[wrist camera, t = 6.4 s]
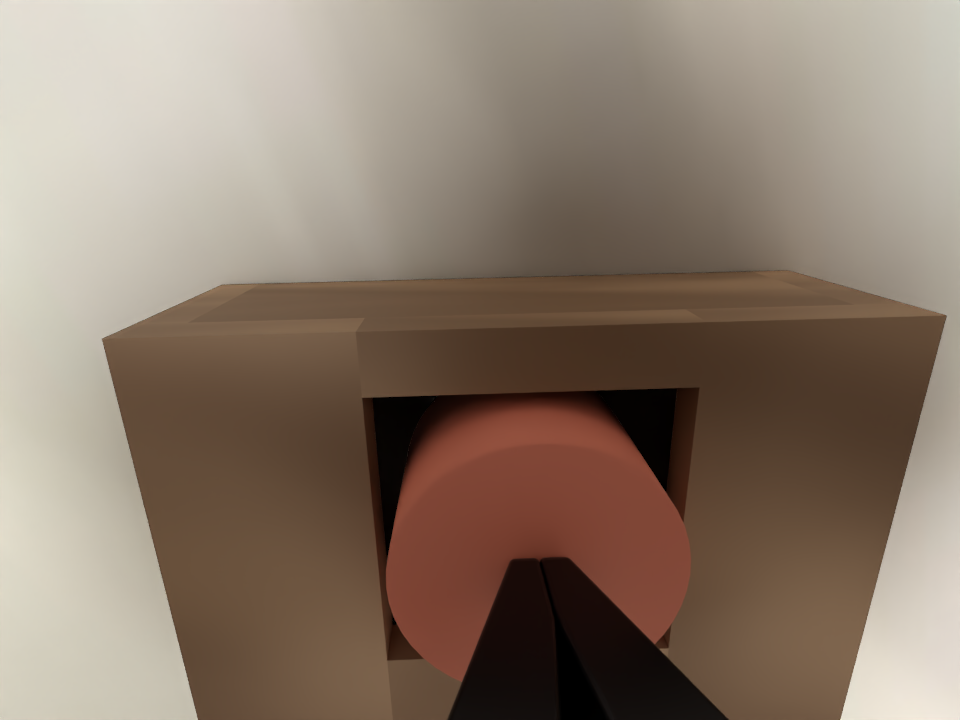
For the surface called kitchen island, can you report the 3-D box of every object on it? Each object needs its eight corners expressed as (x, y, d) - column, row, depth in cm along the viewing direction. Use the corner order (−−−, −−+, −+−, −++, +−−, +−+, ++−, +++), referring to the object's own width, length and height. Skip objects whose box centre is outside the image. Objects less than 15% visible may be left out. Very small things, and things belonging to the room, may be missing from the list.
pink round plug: (619, 555, 12) (676, 688, 9) (413, 562, 11) (396, 701, 8) (634, 360, 10) (707, 438, 7) (399, 367, 10) (373, 449, 7)
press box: (696, 831, 17) (762, 1013, 14) (319, 851, 17) (280, 1043, 13) (787, 270, 12) (945, 315, 8) (221, 284, 11) (102, 338, 8)
